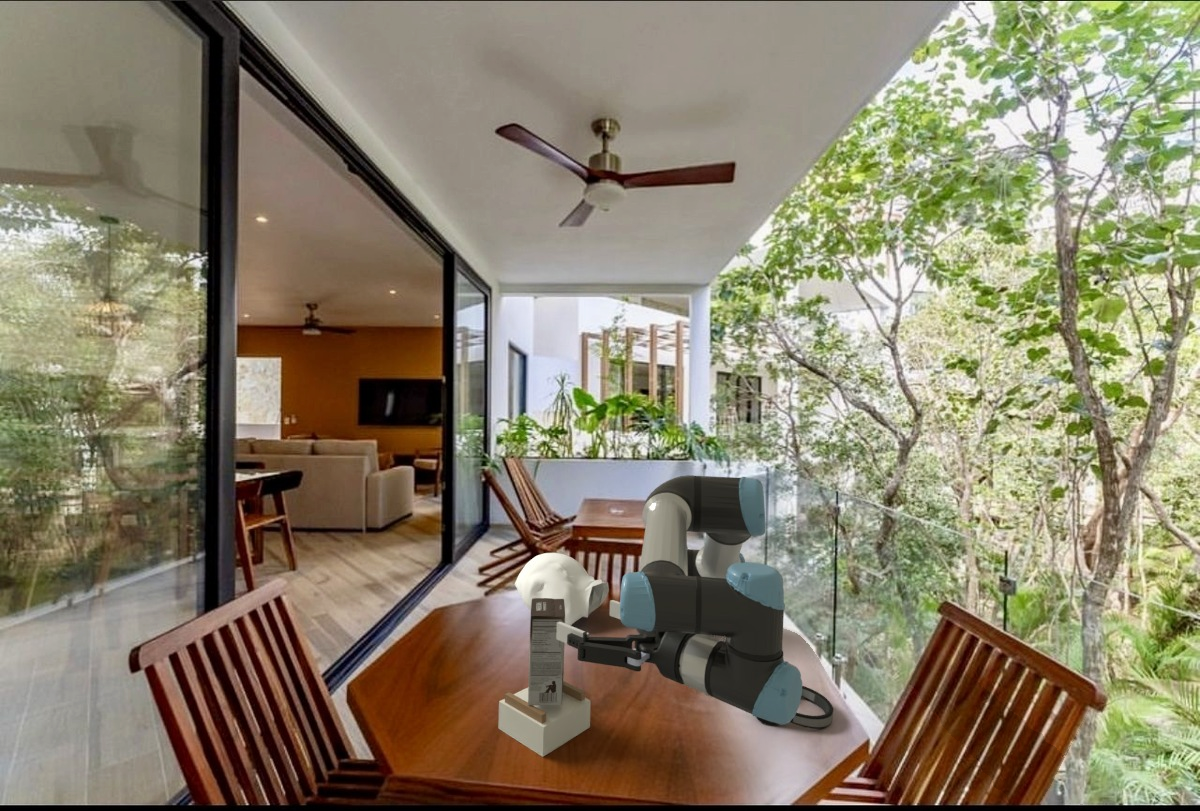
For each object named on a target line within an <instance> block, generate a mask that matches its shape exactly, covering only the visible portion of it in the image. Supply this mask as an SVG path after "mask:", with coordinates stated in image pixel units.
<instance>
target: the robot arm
mask: <svg viewBox="0 0 1200 811" xmlns="http://www.w3.org/2000/svg"><path fill="white" fill-rule="evenodd" d="M763 485H764V484H763V483H762V482H761V480H759V479H758V478H752V477H751V478H750V477H745V476H742V477H733V476H732V477H731V476H730V477H729V476H713V475H712V476H711V475H710V476H708V475H690V474H688V475H687V474H686V475H680V476H677V477H673V478H670V479H668V480H666V481H665V482H663V483H661V484H660V485H658V486H657V487H656V488H655V489H653V490H652V491H651V492H650V493H649V495H648V496H647V497H646V499H645V502H644V504H643V508H642V515H641V516H642V522H643V525H644V527H645V530H644V534H643V542H642V549H641V556H640V562H639V563H640V564H639V571H637V572H636V571H635V572H634V571H633V572H631V571H630V572H626V573H625V574H624V575H623V576H622V580H621V586H620V600H619V601H618V600H614V599H612V600H609V616H610V617H612V618H616V619H618V620H620V622H621V623H622V625H623V626H624V627H626V628H628V629H629V628H630V629H636V631H637V632H638V633H639V634H628V635H627V636H626V637H623V636H622V637H618V636H614V637H613V636H590V633H589V632H588V631H584V630H582V629H580V628H577V627H576V626H575V627H574V626H572V625H571V626H570V625H568V624H565V623H563V622H557V632H556V639H557V640H559V641H562V642H564V644H565V645H567V646H570V647H572V648H575V649H576V650H577V660H578V661H580V662H585V663H591V664H593V663H594V664H598V665H605V666H612V667H619V668H625V669H628V670H631V671H634V672H641V671H642V664H643V663H647V664H649V663H650V664H654V665H655V666H656V668H657V669H658V671H659V673H660V675H662V676H663V677H664V678H666V679H669V680H671V681H673V682H676V683H678V684H680V685H685V686H687V687H688V688H691V689H693V690H695V691H698V692H701V693H703V694H704V695H705V696H706V697H711V698H714V699H716V700H719V701H721V702H723V703H726V704H728V705H730V706H732V707H734V708H736V709H739V710H742V711H744V712H746V713H748V714H751V715H752V716H753V717H755V718H756V717H759V718H762V719H765V720H768V721H770V722H775V723H778V724H780V725H787V724H788V723H790V721H791V720H792V719H793V718H794V716H795V715H796V713H798V711H799V710H798V709H799V708H800V704H801V699H802V697H801V695H802V686H803V680H802V674H801V671H800V670H799V668H798V667H797V666H795V665H794V664H791V663H790V662H789V661H786V660H784V650H783V636H784V635H783V634H784V633H783V632H784V616H785V614H784V613H785V612H784V611H785V608H786V605H785V596H784V593H785V590H784V578H783V575H782V574H781V573H780V572H779V570H778V569H776V568H775V567H773V566H770V565H768V564H764V563H760V562H752V561H746V559H745V557H744V555H743V554H742V553H741V549H742V546H743V544H744V543H745V542H747V541H748V540H749V539H751V537H758V536H764V535H765V534H766V511H765V510H766V508H765V495H764V486H763ZM688 532H689V533H690V532H693V533H703V534H704V533H705V538H704V544H703V546H702V547H701V548H700V549H693V548H691V549H690V548H689V547H688V539H687V538H688V535H687V534H688ZM688 548H689V549H688ZM712 636H713V637H712ZM714 636H716V637H725V639H724V640H721V639H719V638H716V637H714ZM633 643H634V648H633Z"/></svg>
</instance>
